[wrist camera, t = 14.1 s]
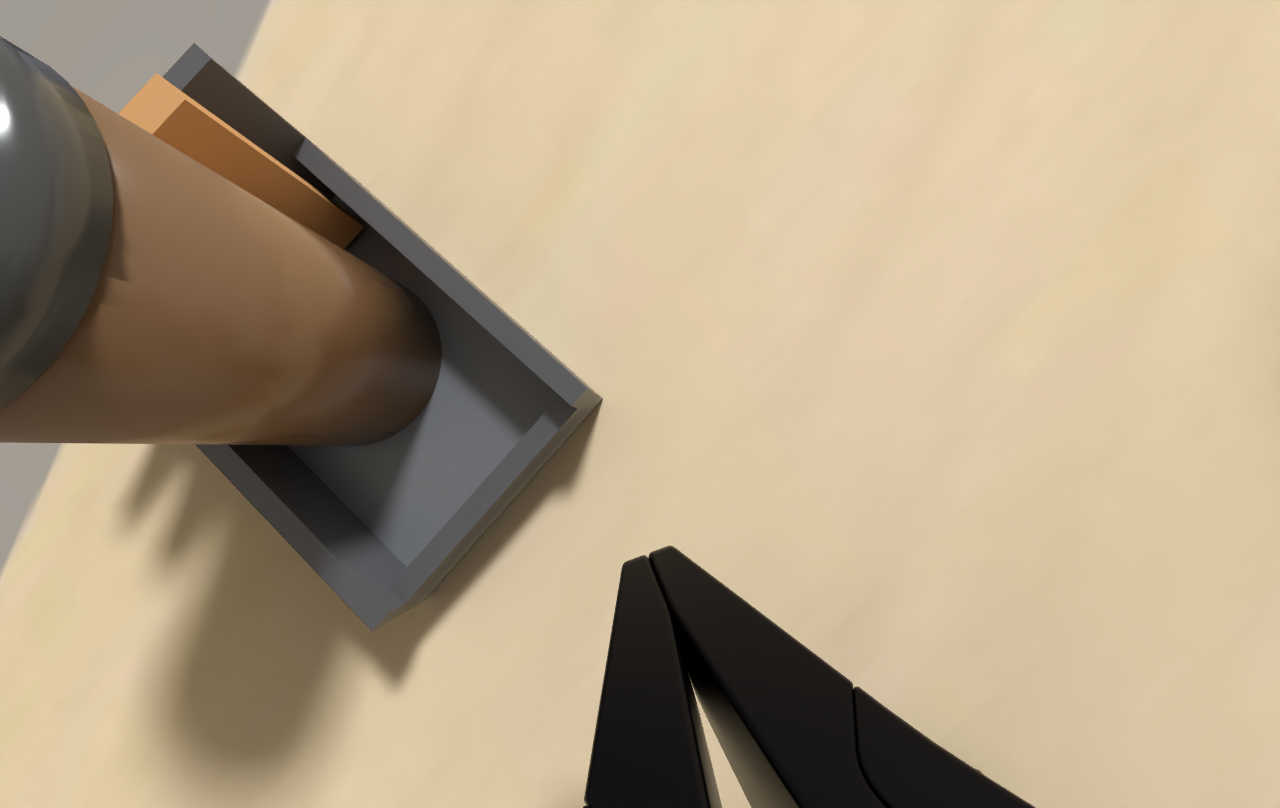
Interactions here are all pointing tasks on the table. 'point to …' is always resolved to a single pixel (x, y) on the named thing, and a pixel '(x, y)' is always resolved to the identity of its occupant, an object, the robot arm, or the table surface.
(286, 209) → the block
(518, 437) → the tray
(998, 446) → the table surface
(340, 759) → the table surface
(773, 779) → the robot arm
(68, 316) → the jar
